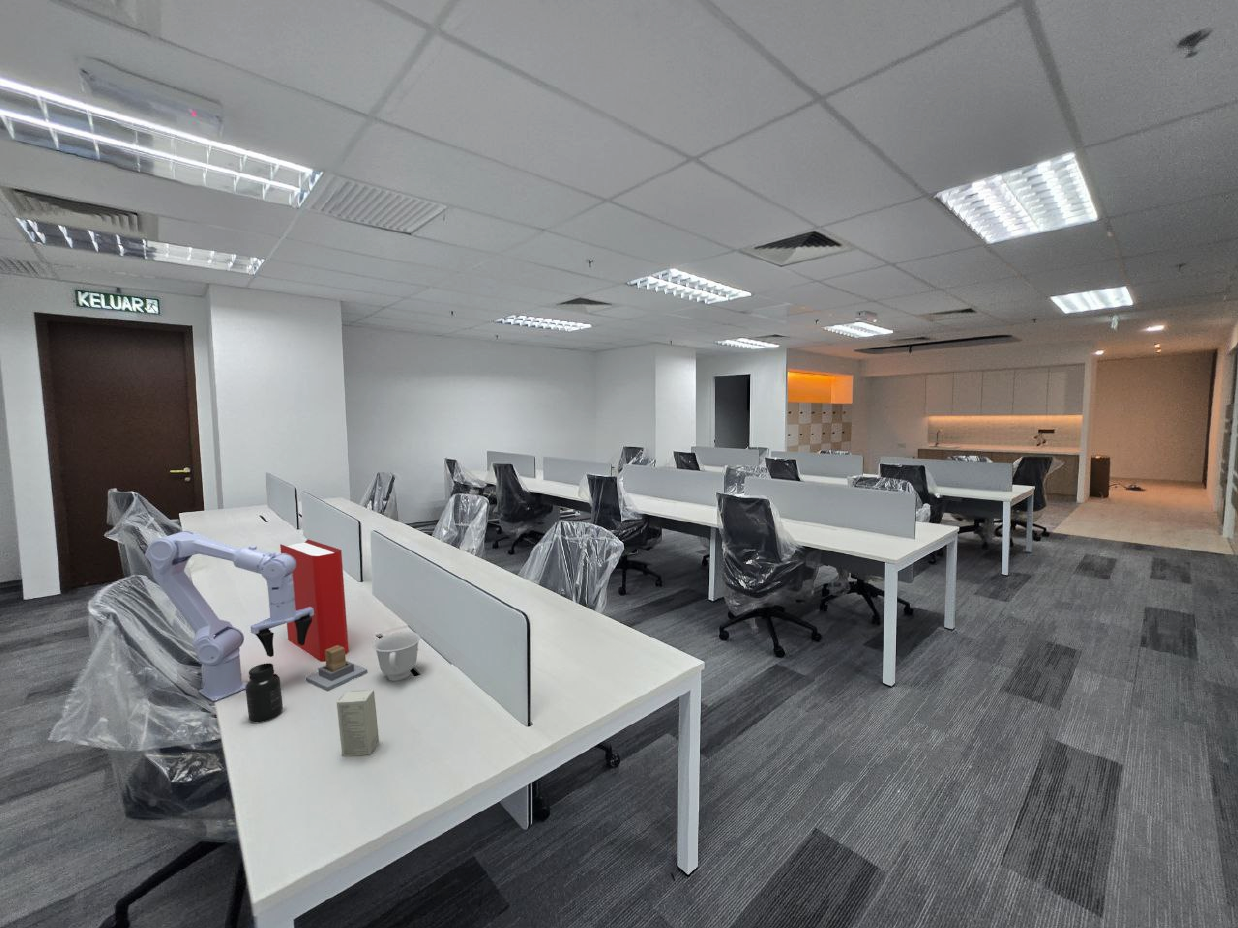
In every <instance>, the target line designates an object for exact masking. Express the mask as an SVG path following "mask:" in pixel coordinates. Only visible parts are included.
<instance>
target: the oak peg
mask: <svg viewBox="0 0 1238 928" xmlns="http://www.w3.org/2000/svg"><path fill="white" fill-rule="evenodd" d="M325 657H326V662H325V665H326V669H327V670H329V671H331V672H334V671H336V670H338V669H340V668H343V667H345V666H346V661H347V659H346V655H345V648H344V647H341V646H339V645H337V646H334V647H332V648H329V649H327V650H325Z"/></svg>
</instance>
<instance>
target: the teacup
mask: <svg viewBox="0 0 1238 928" xmlns="http://www.w3.org/2000/svg"><path fill="white" fill-rule="evenodd" d="M420 640H421V635H420V634H419V633H417V632H413V631H401V632H400V631H399V632H393V633H390V634H387V635H385V636H382V637H380V638H379V639H377V640H376V641H375V642H374V643H373V645H372V648H373V650H375V651H376V656H377V659H378V660H377V661H378V664H379V667H380V670H381V672H382V673H383V674H384V675H386V676H387V679H389V680H390V681H401V680H405V679H406V678H408V677H409V676H410V675H411V670H412V669H414V667H415V666H416V663H417V659H418V646H419V642H420ZM389 680H388V681H389Z"/></svg>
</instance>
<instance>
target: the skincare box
mask: <svg viewBox="0 0 1238 928" xmlns="http://www.w3.org/2000/svg"><path fill="white" fill-rule="evenodd" d="M376 706H377V705H376V696H375V690H374V689H367V690H349V691H345V693H343V694H342V696H341V697H340V698H338V699H337V701H336V708H337V709H336V710H337V718H338V719H337V720H338V728H339V738H340V739H339V741H340V746H341V756H342V757H345V756H346V757H348V756H349V757H350V756H365V755H367V756H368V755H371V754H373V752H374V750H375V749H376V747H377V746H378V744H379V743H380V738H379V736H380V735H379V726H378V725H379V724H378V717H377V707H376Z"/></svg>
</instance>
